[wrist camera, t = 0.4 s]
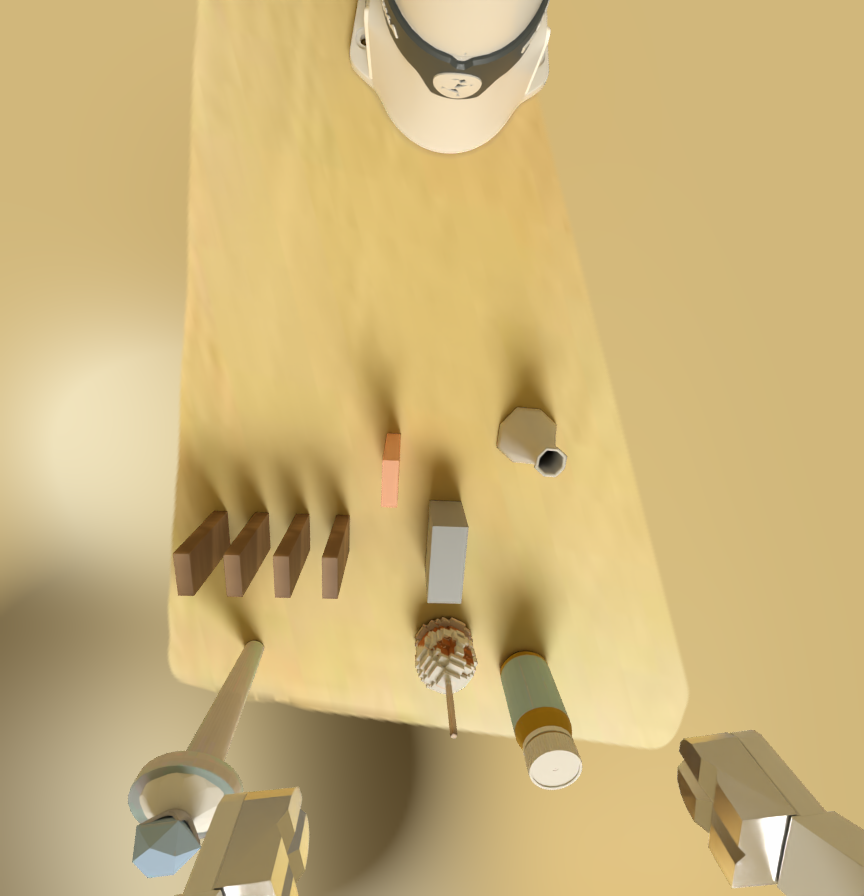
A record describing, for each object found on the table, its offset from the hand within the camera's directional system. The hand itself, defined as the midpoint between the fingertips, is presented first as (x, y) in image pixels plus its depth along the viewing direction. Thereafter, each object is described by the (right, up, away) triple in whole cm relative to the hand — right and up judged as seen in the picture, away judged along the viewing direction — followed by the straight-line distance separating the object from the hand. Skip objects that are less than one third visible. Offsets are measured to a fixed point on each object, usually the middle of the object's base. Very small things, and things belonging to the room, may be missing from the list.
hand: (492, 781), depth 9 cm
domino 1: (-28, -3, +46) cm, 54 cm away
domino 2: (-23, -3, +46) cm, 52 cm away
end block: (0, -4, +48) cm, 48 cm away
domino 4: (-13, -4, +47) cm, 49 cm away
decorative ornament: (0, -20, +53) cm, 56 cm away
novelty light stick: (-26, -20, +52) cm, 61 cm away
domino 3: (-18, -4, +47) cm, 50 cm away
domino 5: (-6, +6, +44) cm, 45 cm away
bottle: (+12, -25, +55) cm, 62 cm away
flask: (+10, +9, +45) cm, 46 cm away
